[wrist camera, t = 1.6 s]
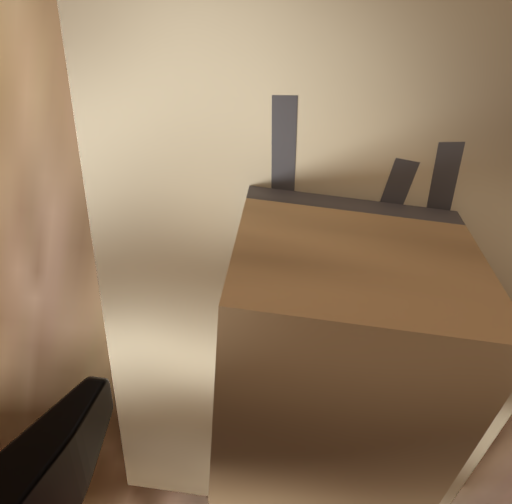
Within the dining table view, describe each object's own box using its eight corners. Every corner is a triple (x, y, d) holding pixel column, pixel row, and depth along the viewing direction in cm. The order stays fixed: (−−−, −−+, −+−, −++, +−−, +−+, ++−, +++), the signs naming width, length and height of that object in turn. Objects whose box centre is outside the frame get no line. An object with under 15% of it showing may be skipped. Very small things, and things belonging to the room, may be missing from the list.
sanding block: (377, 412, 13) (401, 562, 10) (231, 392, 13) (206, 533, 10) (457, 210, 9) (540, 348, 6) (249, 185, 9) (218, 306, 6)
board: (424, 490, 18) (433, 529, 17) (139, 449, 18) (127, 485, 17) (814, -168, 7) (928, -198, 6) (65, -239, 7) (14, -283, 6)
